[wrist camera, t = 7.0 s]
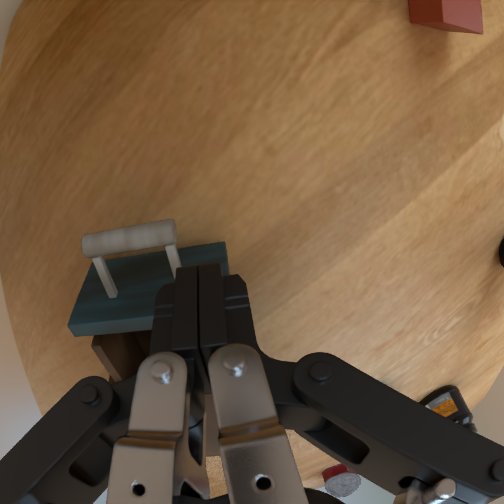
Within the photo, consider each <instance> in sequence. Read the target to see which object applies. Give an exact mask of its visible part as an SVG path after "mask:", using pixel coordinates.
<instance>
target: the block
mask: <svg viewBox="0 0 504 504" xmlns="http://www.w3.org/2000/svg"><path fill="white" fill-rule="evenodd" d="M409 11H410V23H413V24H418V25H423V26H428V27H433V28H437V29H441V30H445V31H449V32H463V33H474V34H483V22H482V9H481V0H409Z"/></svg>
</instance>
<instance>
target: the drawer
mask: <svg viewBox="0 0 504 504" xmlns="http://www.w3.org/2000/svg"><path fill="white" fill-rule="evenodd" d="M176 243H177V230H176V225H175V222H174V220H173V219H167V220H161V221H155V222H150V223H144V224H139V225H133V226H128V227H123V228H117V229H112V230H107V231H102V232H97V233H92V234H87V235H84V236H83V237H82V240H81V248H82V252H83V254H84V256H85V257H86V258H92V260H93V263H92V264H91V266H90V269H89V271H88V273H87V276H86V278H85V281H84V283H83V285H82V288H81V290H80V293H79V295H78V298H77V301H76V303H75V306H74V308H73V311H72V314H71V317H70V319H69V322H68V327H69V329H70V331H71V332H72V334H73V335H74V337H79V336H91V335H94V338H93V341H92V345H91V347H92V349H93V350H94V352H95V353H96V355H97V356H98V358H99V359H100V361H101V362H102V364H103V365H104V367H105V368H106V370H107V371H108V372H109V374H110V375H111V377H112V378H113V379H114V381H115V382H118V381H121V380H124V379H127V378H129V377H132V376H134V375H135V374H137V373H138V369H139V367H140V365H141V364H142V362H143V361H144V360H145V359H146V358H148V357H149V352H150V342H151V333H152V324H153V319H154V317H153V316H154V309H155V301H156V295H157V293H158V292H159V290H160V289H161V287H162V286H163V284H169V283H175V276H176V268H177V267H183V266H191V265H198V266H199V264H205V263H212V262H219V261H220V262H221V267H222V273H223V276H228V275H230V274H229V266H228V257H227V250H226V244H225V242H217V243H211V244H204V245H198V246H192V247H185V248H179V249H177V247H176ZM164 245H165V249H166V251H160V252H154V253H148V254H142V255H136V256H129V257H123V258H117V259H111V260H104V258H103V256H104V255H110V254H116V253H122V252H128V251H134V250H140V249H146V248H152V247H158V246H164Z"/></svg>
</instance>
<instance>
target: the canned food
mask: <svg viewBox="0 0 504 504" xmlns="http://www.w3.org/2000/svg"><path fill="white" fill-rule="evenodd" d="M322 474H323V478H324V482H325V489H326V490H327V492H329V493H330V494H331V495H333V496H335V497H346V496H348V495H350V494H352V493H353V492H354V491H355V490H357V488H358V487H359V485H360V484H361V478H360V477H359V475H357V474H358V473H356V472H354V471H353V470H351V469H350V468H348V467H346V466H345V465H343V464H339V465H336V466H333V467H331V468H329V469H327V470H325V471H324V472H323V473H322Z"/></svg>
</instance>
